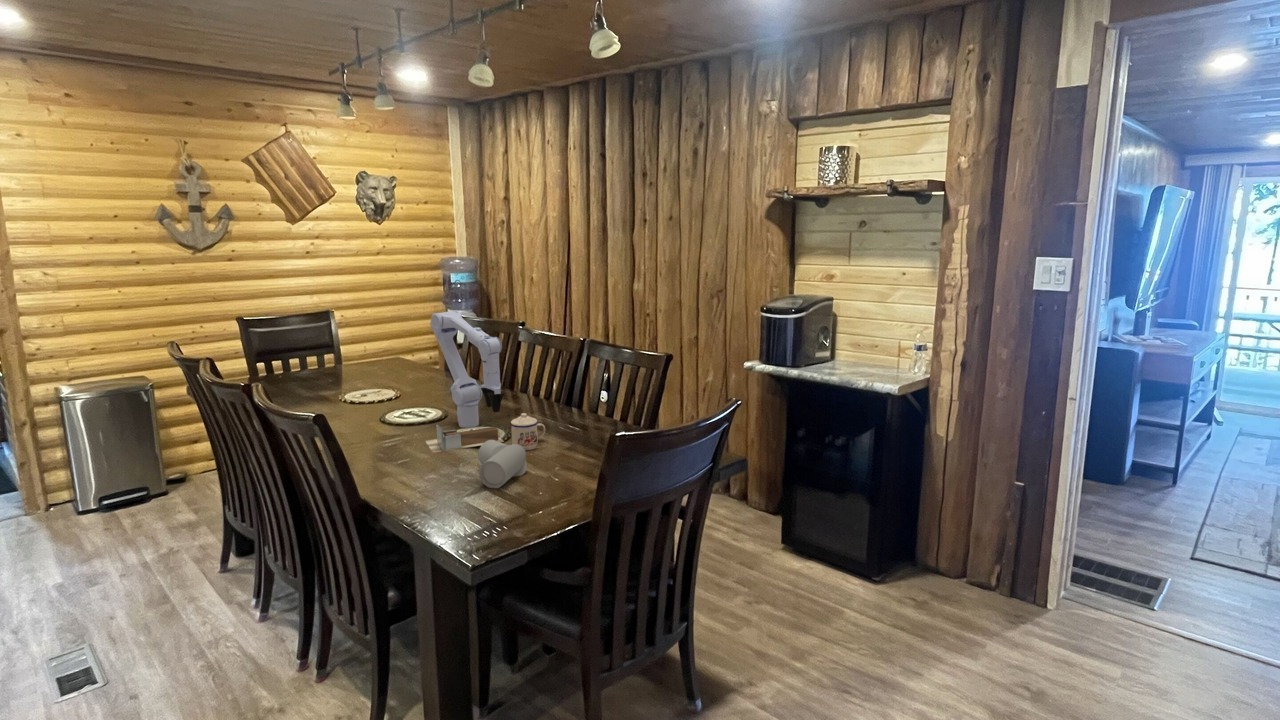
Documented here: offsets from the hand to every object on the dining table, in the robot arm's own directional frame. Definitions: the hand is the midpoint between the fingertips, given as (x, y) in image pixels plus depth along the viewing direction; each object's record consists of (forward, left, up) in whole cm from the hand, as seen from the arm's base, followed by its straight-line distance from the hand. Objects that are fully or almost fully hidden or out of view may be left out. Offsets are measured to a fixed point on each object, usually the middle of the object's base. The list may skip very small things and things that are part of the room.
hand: (493, 409), depth 248 cm
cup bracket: (+8, -18, -8) cm, 21 cm away
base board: (+6, -12, -9) cm, 16 cm away
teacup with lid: (+18, +7, -10) cm, 22 cm away
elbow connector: (+41, -10, -10) cm, 43 cm away
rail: (+9, -10, -8) cm, 16 cm away
